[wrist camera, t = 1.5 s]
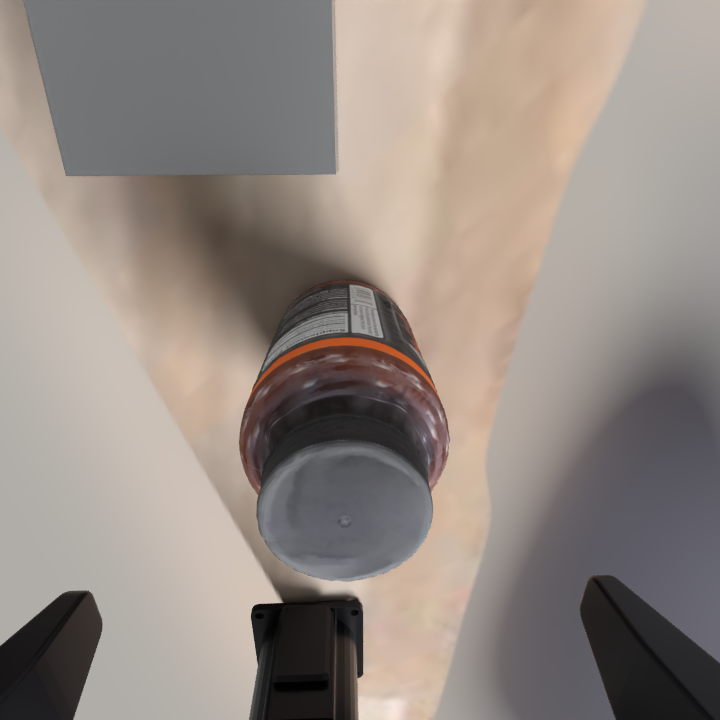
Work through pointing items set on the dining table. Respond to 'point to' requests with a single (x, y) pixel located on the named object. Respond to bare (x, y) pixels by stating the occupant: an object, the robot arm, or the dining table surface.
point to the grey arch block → (190, 85)
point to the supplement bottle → (344, 436)
